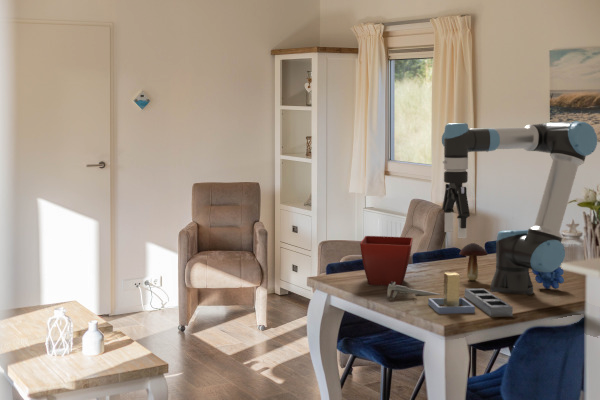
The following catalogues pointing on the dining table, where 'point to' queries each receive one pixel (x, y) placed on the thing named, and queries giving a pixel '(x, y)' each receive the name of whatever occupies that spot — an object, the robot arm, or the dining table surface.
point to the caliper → (406, 290)
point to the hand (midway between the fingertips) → (455, 235)
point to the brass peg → (451, 289)
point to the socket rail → (488, 302)
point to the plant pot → (385, 259)
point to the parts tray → (465, 308)
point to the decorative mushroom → (473, 259)
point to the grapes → (549, 278)
